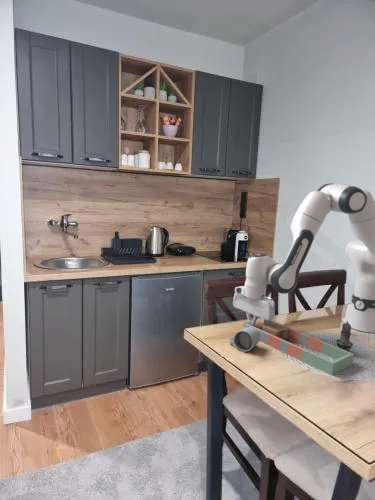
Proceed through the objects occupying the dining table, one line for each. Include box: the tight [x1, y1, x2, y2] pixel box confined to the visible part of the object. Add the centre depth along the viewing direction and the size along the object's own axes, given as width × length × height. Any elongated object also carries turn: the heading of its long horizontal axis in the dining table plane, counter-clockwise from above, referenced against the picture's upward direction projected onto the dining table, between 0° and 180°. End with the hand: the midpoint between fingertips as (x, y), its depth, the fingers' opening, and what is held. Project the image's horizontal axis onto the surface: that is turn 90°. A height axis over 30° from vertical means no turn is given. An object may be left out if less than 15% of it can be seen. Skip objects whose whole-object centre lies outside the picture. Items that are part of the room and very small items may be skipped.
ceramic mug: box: [228, 326, 260, 353], centre depth 127 cm, size 11×8×8 cm
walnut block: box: [261, 322, 288, 342], centre depth 136 cm, size 7×7×5 cm
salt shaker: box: [335, 321, 354, 352], centre depth 127 cm, size 6×6×12 cm
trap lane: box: [243, 319, 355, 376], centre depth 129 cm, size 13×38×4 cm, turn 38°
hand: (251, 323), depth 145 cm, fingers closed
